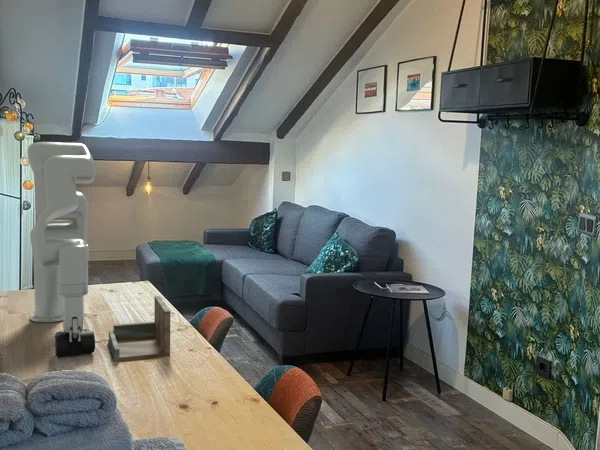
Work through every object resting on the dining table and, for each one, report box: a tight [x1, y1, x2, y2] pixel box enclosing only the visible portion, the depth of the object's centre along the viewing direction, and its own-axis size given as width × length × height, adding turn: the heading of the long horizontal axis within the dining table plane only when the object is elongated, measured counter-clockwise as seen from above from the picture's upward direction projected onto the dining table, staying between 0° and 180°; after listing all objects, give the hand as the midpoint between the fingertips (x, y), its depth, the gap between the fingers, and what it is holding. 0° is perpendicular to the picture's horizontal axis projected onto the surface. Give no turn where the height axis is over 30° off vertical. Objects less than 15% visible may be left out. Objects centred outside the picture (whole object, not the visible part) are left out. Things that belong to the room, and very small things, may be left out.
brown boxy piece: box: [108, 295, 171, 362], centre depth 177 cm, size 18×15×13 cm
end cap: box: [54, 328, 96, 359], centre depth 170 cm, size 10×7×7 cm
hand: (74, 350), depth 171 cm, fingers closed on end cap, 7 cm apart
